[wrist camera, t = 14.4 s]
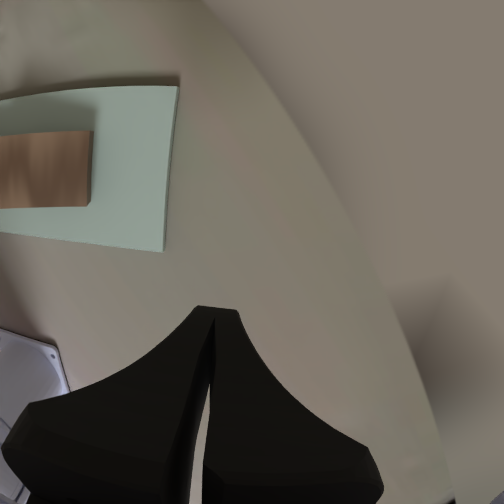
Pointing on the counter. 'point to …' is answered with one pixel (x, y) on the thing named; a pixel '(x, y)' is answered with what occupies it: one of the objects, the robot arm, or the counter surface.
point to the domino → (46, 169)
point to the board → (103, 163)
